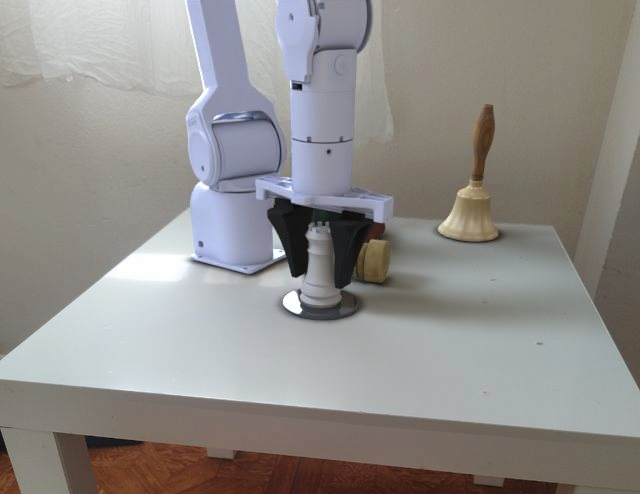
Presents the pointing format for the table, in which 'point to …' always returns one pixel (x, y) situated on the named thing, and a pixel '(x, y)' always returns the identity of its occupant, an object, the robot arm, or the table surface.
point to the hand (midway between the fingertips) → (320, 280)
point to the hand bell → (474, 190)
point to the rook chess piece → (320, 269)
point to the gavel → (372, 256)
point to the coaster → (299, 309)
